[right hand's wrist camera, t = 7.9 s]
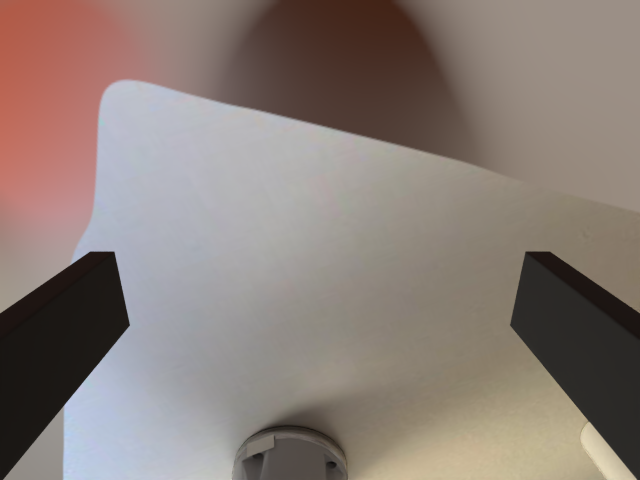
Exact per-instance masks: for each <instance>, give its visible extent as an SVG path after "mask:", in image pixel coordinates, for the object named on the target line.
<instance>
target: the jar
mask: <svg viewBox="0 0 640 480" xmlns="http://www.w3.org/2000/svg"><path fill="white" fill-rule="evenodd" d="M580 441H581V445H582V447H583V448H584V450H585V451H586V453H587V454H588V455H589V457H590V458H591V459H592V461H593V462H594V464H595V465H596V466H597V468H598V469H599V470H600V472H601V473H602V475H603V476H604V477H605V479H606V480H637V479H636V478H635V477H634V475H633V474H632V473H631V472H630V471H629V469H628V468H627V467H626V466H625V464H624V463H623V462H622V461H621V460H620V458H619V457H618V456H617V455H616V454H615V452H614V451H613V450H612V449H611V447H610V446H609V445H608V444H607V443H606V441H605V440H604V439H603V438H602V436H601V435H600V434H599V433H598V432H597V430H596V429H595V428H594V427H593V426H592V424H591V423H590V422H589V421H588V422H587V424H586V425H585V426H584V428H583V430H582V432H581V437H580Z"/></svg>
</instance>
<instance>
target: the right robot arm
mask: <svg viewBox="0 0 640 480" xmlns="http://www.w3.org/2000/svg"><path fill="white" fill-rule="evenodd" d="M129 326H130V324H129V319H128V314H127V309H126V305H125V300H124V295H123V290H122V286H121V281H120V276H119V271H118V267H117V262H116V257H115V252H89V253H88V254H86V255H85V256H83V257H82V258H80V259H79V260H77V261H76V262H74V263H73V264H72V265H70V266H69V267H67V268H66V269H64V270H63V271H61V272H60V273H58V274H57V275H56V276H54V277H53V278H51V279H50V280H48V281H47V282H45V283H44V284H43V285H41V286H40V287H38V288H37V289H35V290H34V291H32V292H31V293H29V294H28V295H26V296H25V297H24V298H22V299H21V300H19V301H18V302H16V303H15V304H13V305H12V306H10V307H9V308H7V309H6V310H5V311H3V312H2V313H0V480H3V479H4V478H5V477H6V475H7V474H8V473H9V472H10V471H11V469H12V468H13V467H14V466H15V464H16V463H17V462H18V461H19V460H20V458H21V457H22V456H23V455H24V453H25V452H26V451H27V450H28V449H29V447H30V446H31V445H32V444H33V443H34V441H35V440H36V439H37V438H38V436H39V435H40V434H41V433H42V432H43V430H44V429H45V428H46V427H47V426H48V424H49V423H50V422H51V421H52V419H53V418H54V417H55V416H56V415H57V413H58V412H59V411H60V410H61V408H62V407H63V406H64V405H65V404H66V402H67V401H68V400H69V399H70V398H71V396H72V395H73V394H74V393H75V391H76V390H77V389H78V388H79V387H80V385H81V384H82V383H83V382H84V380H85V379H86V378H87V377H88V376H89V374H90V373H91V372H92V371H93V370H94V368H95V367H96V366H97V365H98V363H99V362H100V361H101V360H102V359H103V357H104V356H105V355H106V354H107V353H108V351H109V350H110V349H111V348H112V346H113V345H114V344H115V343H116V342H117V340H118V339H119V338H120V337H121V335H122V334H123V333H124V332H125V331H126V329H127V328H128V327H129ZM510 326H511V327H512V328H513V329H514V331H515V332H516V333H517V334H518V335H519V337H520V338H521V339H522V340H523V342H524V343H525V344H526V345H527V346H528V348H529V349H530V350H531V351H532V353H533V354H534V355H535V356H536V357H537V359H538V360H539V361H540V362H541V363H542V365H543V366H544V367H545V368H546V370H547V371H548V372H549V373H550V374H551V376H552V377H553V378H554V379H555V380H556V382H557V383H558V384H559V385H560V387H561V388H562V389H563V390H564V391H565V393H566V394H567V395H568V396H569V398H570V399H571V400H572V401H573V402H574V404H575V405H576V406H577V407H578V408H579V410H580V411H581V412H582V413H583V415H584V416H585V417H586V418H587V419H588V421H589V422H590V423H591V424H592V426H593V427H594V428H595V429H596V430H597V432H598V433H599V434H600V435H601V436H602V438H603V439H604V440H605V441H606V443H607V444H608V445H609V446H610V447H611V449H612V450H613V451H614V452H615V454H616V455H617V456H618V457H619V458H620V460H621V461H622V462H623V463H624V464H625V466H626V467H627V468H628V469H629V471H630V472H631V473H632V474H633V475H634V477H635V478H636V479H637V480H640V313H638V312H637V311H635V310H634V309H633V308H631V307H630V306H628V305H627V304H625V303H624V302H622V301H621V300H619V299H618V298H616V297H615V296H614V295H612V294H611V293H609V292H608V291H606V290H605V289H603V288H602V287H600V286H599V285H598V284H596V283H595V282H593V281H592V280H590V279H589V278H587V277H586V276H584V275H583V274H582V273H580V272H579V271H577V270H576V269H574V268H573V267H571V266H570V265H568V264H567V263H566V262H564V261H563V260H561V259H560V258H558V257H557V256H555V255H554V254H552V253H551V252H525V257H524V262H523V267H522V271H521V276H520V281H519V286H518V290H517V295H516V300H515V305H514V309H513V314H512V319H511V324H510ZM232 480H348V478H347V463H346V459H345V456H344V454H343V452H342V450H341V449H340V448H339V446H338V445H337V444H336V443H335V442H334V441H332V440H331V439H330V438H328V437H327V436H325V435H323V434H321V433H319V432H317V431H314V430H311V429H307V428H302V427H294V426H284V427H275V428H271V429H267V430H264V431H262V432H259V433H257V434H255V435H254V436H252V437H251V438H249V439H248V440H247V441H246V442H245V443H244V444H243V445H242V446H241V447H240V449H239V451H238V453H237V455H236V459H235V463H234V467H233V472H232Z"/></svg>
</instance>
